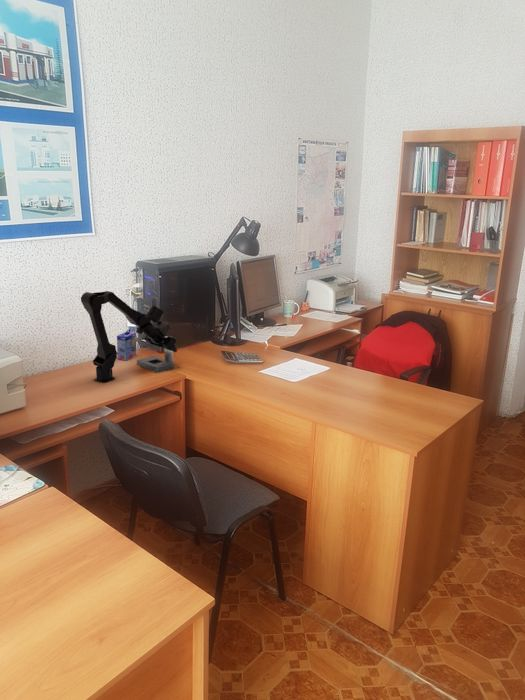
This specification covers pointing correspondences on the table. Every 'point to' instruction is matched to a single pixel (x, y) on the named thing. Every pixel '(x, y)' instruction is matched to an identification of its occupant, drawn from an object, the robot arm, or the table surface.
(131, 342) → the ink cartridge box
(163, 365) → the jig
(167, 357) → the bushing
